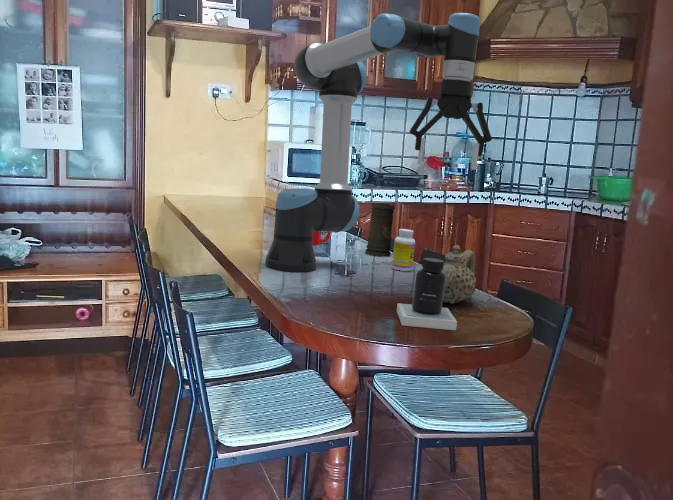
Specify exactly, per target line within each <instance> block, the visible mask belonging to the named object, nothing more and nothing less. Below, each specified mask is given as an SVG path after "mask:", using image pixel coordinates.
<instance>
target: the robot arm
mask: <svg viewBox="0 0 673 500" xmlns="http://www.w3.org/2000/svg"><path fill="white" fill-rule="evenodd" d="M480 23H481V21H480V18H479V16H478V15H476V14H474V13H473V14H472V13H468V12H455V13H452V14H450V15H449V18H448V22H447V24H442V25H433V24H428V23H424V22H421V21H417V20H412V19H410V18H406V17H403V16H399V15H397V14H393V13H380V14H378V15H377V16H376V18H374V20H373V21H372V22H371V24H370V25H369V26H367V27H364V28H361V29H359V30H356V31H354V32H351V33H348V34H346V35H343V36H341V37H338V38H335V39H333V40H330V41H327V42H325V43H320V42H315V43H312V44H309V45H306V46H305V47H303V48H302V49H301V50H300V51H299V52H298V53H297V55H296V57H295V59H294V63H293V66H294V73H295V75H296V78H297V79H298V80H299V82H301V84H303V85H304V86H306V87H308V88H310V89H315V90H318V98H319V99H320V101H321V102H322V103H323V107H322V110H323V113H322V129H321V131H322V132H321V147H320V148H321V150H320V151H321V152H320V154H321V155H320V172H319V173H320V174H319V182H318V184H316V185H315V186H314V189H312V188H302V187H301V188H299V187H297V188H287V189H283V190H281V191H280V192H278V193H277V197H276V202H275V216H274V227H273V228H274V230H273V239H272V242H271V245H270V247H269V249H268V252H267V254H266V256H265V266H266V267H268V268H271V269H274V270H279V271H284V272H285V271H286V272H296V273H297V272H298V273H299V272H302V273H304V272H311V271H315V270H316V268H317V259H316V254H315V250H314V245H312V239H313V232H321V233H327V232H331V233H340V232H342V233H343V232H347V231H349V230H351V229H352V228H353V226H355V224H356V223H357V221H358V219H359V215H360V205H359V202H358V199H357V198H356V197H355V196H354V195H353V189H352V187H351V186H350V185H349V167H350V165H349V162H350V161H349V160H350V143H351V141H350V140H351V122H352V106H353V104H354V103H355V102H356V101H357V100H358V95H359V94H361V93H362V91H363V90H364V87H366V86H365V85H366V82H367V70H366V66H365V65H364V63H363V61H365V60H369V59H372V58H374V57H377V56H380V55H383V54H386V53H387V54H388V53H391V52H393V51H394V52H395V51H401V52H405V53H411V54H412V55H413V56H414V57H416V58H424V59H429V58H439V57H444V59H443V68H442V80H441V82H440V92H439V93H440V94H439V98H438V99H436V98H432V97H430V96H429V97H427V98H426V100H425V104H424V108H422V110H421V112H420V114H419V115H418V117H417V118H416V120H415V121H414V123H413V125H412V126H411V128H410V129H409V134H410V135H413V136H414V137H415V143H414V149H415V151H418V155H417V163H416V164H417V165H422V164H423V158H424V157H423V156H424V148H425V142H426V141H425V140H426V138H425V137H423V136H424V135H425V134H426V133H427V132H428V131H429V130H430V129H431V128H432V127H433V126H434V125H436V124H437V122H438V121H439V120H441V119H442V118H443V117H444V118H446V119H454V120H460V119H462V121H463V122H464V123H465V125H466V127H467V128H468V129H469V131H470V132H471V135H472V136H473V137H474V139H475V140H476V143H475V142H473V148H472V149H473V150H472V158H471V164H470V165H471V166H470V170H475V171H477V165H478V160H479V159H478V158H479V157H482V156H483V151H484V150H483V149H484V145H485V143H489V142H492V141H493V138H492V135H491V132H490V129H489V126H488V123H487V120H486V117H485V114H484V104H483V102H476V103H475V102H472V101H471V98H472V89H473V83H472V82H471V81H472V80H473V79H474V75H475V68H476V67H475V66H476V65H475V64H476V57H477V50H478V49H477V48H478V43H479V37H480ZM435 105H437V107H438V109H439V111H438V112H437V113H436V114H434V116H433V117H432V118H431V119H430V120H429V121H428V122H427V123H426V124H425V125H424V126H423V127H422V128H421V129H419V127H420V126H421V124H422V123H423V121H424V120H425V118H426V116H427V115H428V113H429V112H430V110H431V108H434V106H435ZM471 109H472V110H473V112H474V113H475V114H476V118H477V121H478V124H479V126H480V129H481V132H482V134H481V132H480V131H479V129H478V127H476V125H475V124H474V121H473V120H472V119H471V117H470V114H469V113H468V112H469V111H470V110H471ZM418 129H419V131H418ZM482 135H483V136H482Z"/></svg>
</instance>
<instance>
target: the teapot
mask: <svg viewBox="0 0 673 500" xmlns="http://www.w3.org/2000/svg"><path fill="white" fill-rule="evenodd" d="M461 250H462V249H461V247H460V245H459V244H457V245H453V246H452V251H450V252H448V253H446V254H445V257H444V260H445V261H444V266H443V267H444V268H443V270H442V272H443V273H444V274H445V275H446V284H445V291H444V297H443V303H446V304H450V305H454V304H458V303H460V302H461V301H465V300H466V299H467V298H469V297H471V296H472V295H474V294H475V292H476V282H477V279H476V276H475V271H476V269H475V268H476V256H475V253H474V252H473V251H472V250H470V249H468V250H465V251H463V252H461Z"/></svg>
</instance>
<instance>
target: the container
mask: <svg viewBox="0 0 673 500" xmlns="http://www.w3.org/2000/svg"><path fill="white" fill-rule="evenodd" d="M370 207H371V213H370V214H371V215H370V222H369V223H370V225H369V231H368V233H369V234H368V238H367V244H366V246H365V247H366V249H365V251H364V252H365V254H366V255H368V254H369V256H373V255H375V256H374V257H381V256H387V257H390V256H391V253H392V252H391V241H392V239H391V238H392V232H393V231H392V230H393V229H392V228H393V219H394V210H395V209H396V206H395V205H394V204H393V205H392V204H387V203H371V206H370Z"/></svg>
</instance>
